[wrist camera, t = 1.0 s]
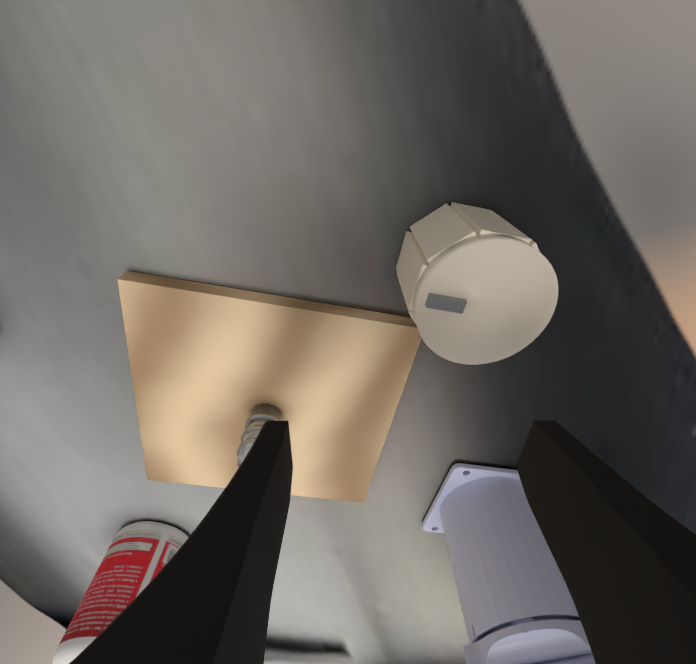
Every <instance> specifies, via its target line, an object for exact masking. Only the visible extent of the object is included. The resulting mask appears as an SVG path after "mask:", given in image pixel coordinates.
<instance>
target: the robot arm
mask: <svg viewBox="0 0 696 664" xmlns="http://www.w3.org/2000/svg"><path fill="white" fill-rule="evenodd" d="M516 467H517V470H511V469H503V468H495V467H487V466H479V465H471V464H462V463H457V464H454V465H453V466H452V467H451V469H450V471H449V473H448V475H447V477H446V478H445V480H444V482H443V484H442V486H441V488H440V490H439V492H438V494H437V496H436V498H435V500H434V501H433V503H432V505H431V507H430V509H429V511H428V513H427V515H426V517H425V519H424V521H423V523H422V529H423V530H424V531H427V532H437V533H444V534H445V539H446V543H447V547H448V551H449V556H450V560H451V564H452V569H453V573H454V577H455V581H456V586H457V590H458V594H459V599H460V603H461V607H462V611H463V616H464V620H465V624H466V628H467V633H468V637H469V641H470V644H468V645H464V646H463V650H464V655H465V660H466V664H696V535H695V534H694V533H693V532H691V531H690V530H688V529H687V528H686V527H684V526H683V525H682V524H680V523H679V522H678V521H676V520H675V519H674V518H672V517H671V516H670V515H668V514H667V513H666V512H664V511H663V510H662V509H661V508H659V507H658V506H657V505H655V504H654V503H653V502H651V501H650V500H649V499H648V498H646V497H645V496H644V495H643V494H641V493H640V492H639V491H638V490H636V489H635V488H634V487H633V486H632V485H630V484H629V483H628V482H627V481H625V480H624V479H623V478H622V477H621V476H619V475H618V474H617V473H616V472H615V471H613V470H612V469H611V468H610V467H609V466H608V465H606V464H605V463H604V462H603V461H602V460H601V459H599V458H598V457H597V456H596V455H595V454H594V453H592V452H591V451H590V450H589V449H588V448H587V447H585V446H584V445H583V444H582V443H581V442H580V441H578V440H577V439H576V438H575V437H574V436H573V435H571V434H570V433H569V432H568V431H567V430H566V429H564V428H563V427H562V426H561V425H559V424H558V423H557V422H556V421H534V422H533V425H532V428H531V430H530V433H529V435H528V438H527V440H526V443H525V445H524V448H523V451H522V453H521V456H520V458H519V461H518V463H517V466H516ZM292 473H293V461H292V452H291V442H290V432H289V422H288V421H266V422H265V423H264V424H263V426H262V428H261V430H260V432H259V434H258V436H257V438H256V440H255V441H254V443H253V445H252V447H251V448H250V450H249V452H248V454H247V455H246V457H245V459H244V460H243V462H242V463H241V465H240V466H239V468H238V470H237V471H236V473H235V474H234V476H233V477H232V479H231V480H230V482H229V484H228V485H227V486H226V488H225V489H224V491H223V492H222V494H221V495H220V496H219V498H218V499H217V501H216V502H215V503H214V505H213V506H212V508H211V509H210V510H209V512H208V513H207V515H206V516H205V517H204V519H203V520H202V521H201V522H200V524H199V525H198V526H197V528H196V529H195V530H194V531H193V533H192V534H191V535H190V536H189V538H188V539H187V540H186V541H185V543H184V544H183V545H182V546H181V547H180V549H179V550H178V551H177V552H176V553H175V555H174V556H173V557H172V558H171V559H170V560H169V562H168V563H167V564H166V565H165V566H164V567H163V568H162V569H161V571H160V572H159V573H158V574H157V575H156V576H155V577H154V578H153V580H152V581H151V582H150V583H149V584H148V585H147V586H146V587H145V588H144V589H143V591H142V592H141V593H140V594H139V595H138V596H137V597H136V598H135V599H134V600H133V601H132V602H131V603H130V604H129V605H128V606H127V607H126V608H125V609H124V610H123V611H122V612H121V613H120V614H119V615H118V616H117V617H116V618H115V619H114V620H113V621H112V622H111V623H110V624H109V625H108V626H107V627H106V628H105V629H104V630H103V631H102V632H101V633H100V634H99V635H98V636H97V637H96V638H95V639H94V640H93V642H92V643H90V644H89V645H88V646H87V647H86V648H85V649H84V650H83V651H82V652H81V653H80V654H79V655H78V656H77V657H76V658H75V659H74V660H73V661H71V662H70V663H69V664H263V663H264V654H265V645H266V636H267V627H268V619H269V610H270V602H271V596H272V590H273V584H274V579H275V574H276V569H277V564H278V559H279V554H280V549H281V544H282V539H283V534H284V529H285V524H286V519H287V514H288V508H289V503H290V494H291V484H292Z"/></svg>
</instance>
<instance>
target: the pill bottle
mask: <svg viewBox="0 0 696 664" xmlns="http://www.w3.org/2000/svg"><path fill="white" fill-rule="evenodd" d="M188 538H189V537H188V536H187V535H186V534H185V533H184V532H182V531H181V530H179V529H177V528H175V527H172V526H170V525H167V524H163V523H159V522H152V521H142V522H136V523H132V524H130V525H127V526H125V527H124V528H122V529H121V530H120V531H119V532H118V533H117V534H116V536H115V538H114V540H113V541H112V543H111V545H110V547H109V549H108V551H107V553H106V555H105V557H104V559H103V561H102V563H101V565H100V566H99V568H98V570H97V572H96V574H95V576H94V578H93V580H92V582H91V584H90V586H89V588H88V590H87V592H86V593H85V595H84V597H83V599H82V601H81V603H80V605H79V607H78V609H77V611H76V613H75V615H74V617H73V619H72V621H71V623H70V625H69V627H68V629H67V630H66V632H65V635H64V636H63V638H62V640H61V642H60V644H59V646H58V648H57V650H56V652H55V654H54V657H53V662H52V664H69V663H70V662H71V661H73V660H74V659H75V658H76V657H77V656H78V655H79V654H80V653H81V652H82V651H83V650H84V649H85V648H86V647H87V646H88V645H89V644H90V643H92V642H93V640H94V639H95V638H96V637H97V636H98V635H99V634H100V633H101V632H102V631H103V630H104V629H105V628H106V627H107V626H108V625H109V624H110V623H111V622H112V621H113V620H114V619H115V618H116V617H117V616H118V615H119V614H120V613H121V612H122V611H123V610H124V609H125V608H126V607H127V606H128V605H129V604H130V603H131V602H132V601H133V600H134V599H135V598H136V597H137V596H138V595H139V594H140V593H141V592H142V591H143V589H144V588H145V587H146V586H147V585H148V584H149V583H150V582H151V581H152V580H153V578H154V577H155V576H156V575H157V574H158V573H159V572H160V571H161V569H162V568H163V567H164V566H165V565H166V564H167V563H168V562H169V560H170V559H171V558H172V557H173V556H174V555H175V553H176V552H177V551H178V550H179V549H180V547H181V546H182V545H183V544H184V543H185V541H186V540H187V539H188Z"/></svg>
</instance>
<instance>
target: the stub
mask: <svg viewBox="0 0 696 664" xmlns="http://www.w3.org/2000/svg"><path fill="white" fill-rule="evenodd" d="M281 419H282V413H281V411H280V410H279V409H278V408H277V407H276V406H274V405H271V404H260V405H257V406H255V407H254V408H253V410H252V412H251V416H250V417H248V419H247V420H246V423H245V430H244V431H243V433H242V436H241V443H240V444H239V446H238V449H237V456H238V460H237V465H238V467H239V466H240V465H241V463H242V462H243V460H244V459H245V457H246V455H247V454H248V452H249V450H250V448H251V447H252V445H253V443H254V441H255V440H256V438H257V436H258V434H259V432H260V430H261V428H262V426H263V424H264V423H265V422H266V421H281Z"/></svg>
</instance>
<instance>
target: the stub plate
mask: <svg viewBox="0 0 696 664" xmlns="http://www.w3.org/2000/svg"><path fill="white" fill-rule="evenodd" d="M118 286H119V292H120V299H121V306H122V313H123V319H124V326H125V333H126V340H127V346H128V353H129V360H130V366H131V373H132V380H133V387H134V393H135V400H136V407H137V414H138V420H139V427H140V434H141V441H142V447H143V454H144V461H145V468H146V474H147V480H155V481H164V482H174V483H183V484H193V485H202V486H211V487H221V488H226V486H227V485H228V484H229V482H230V480H231V479H232V477H233V476H234V474H235V473H236V471H237V470H238V468H239V467H238V465H237V460H238V456H237V449H238V446H239V444H240V443H241V436H242V433H243V431H244V430H245V423H246V420H247V419H248V417H250V416H251V412H252V410H253V408H254V407H255V406H257V405H260V404H271V405H274V406H276V407H277V408H278V409H279V410H280V411H281V413H282V419H281V421H288V422H289V432H290V442H291V452H292V461H293V473H292V484H291V494H290V495H296V496H305V497H314V498H324V499H333V500H343V501H352V502H361V503H363V502H364V499H365V496H366V493H367V491H368V488H369V485H370V482H371V479H372V476H373V474H374V471H375V468H376V465H377V462H378V460H379V457H380V454H381V451H382V448H383V446H384V443H385V440H386V437H387V434H388V432H389V429H390V426H391V423H392V420H393V417H394V415H395V412H396V409H397V406H398V403H399V401H400V398H401V395H402V392H403V389H404V387H405V384H406V381H407V378H408V375H409V373H410V370H411V367H412V364H413V361H414V359H415V356H416V353H417V350H418V347H419V344H420V342H421V339H422V337H421V336H420V333H419V330H418V328H417V325H416V324H415V322H414V321H413V319H412V318H410V317H404V316H398V315H392V314H386V313H380V312H374V311H368V310H362V309H356V308H350V307H344V306H338V305H332V304H326V303H319V302H313V301H307V300H301V299H295V298H289V297H283V296H277V295H271V294H265V293H259V292H253V291H247V290H241V289H235V288H229V287H223V286H217V285H211V284H205V283H199V282H193V281H187V280H181V279H174V278H168V277H162V276H156V275H150V274H144V273H138V272H132V271H127V272H126V273H125V274H123V275H122V276H121V277H120V278H118Z"/></svg>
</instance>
